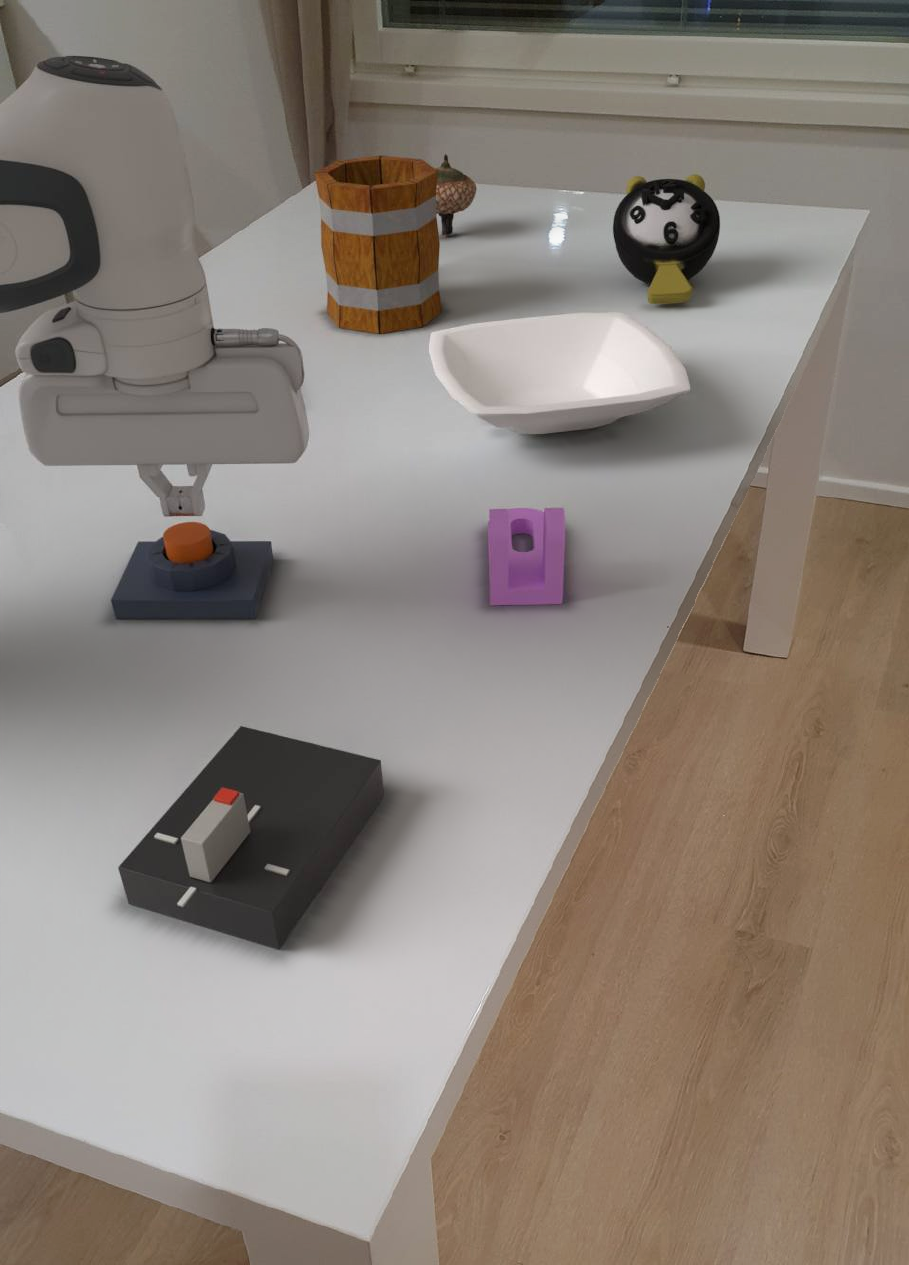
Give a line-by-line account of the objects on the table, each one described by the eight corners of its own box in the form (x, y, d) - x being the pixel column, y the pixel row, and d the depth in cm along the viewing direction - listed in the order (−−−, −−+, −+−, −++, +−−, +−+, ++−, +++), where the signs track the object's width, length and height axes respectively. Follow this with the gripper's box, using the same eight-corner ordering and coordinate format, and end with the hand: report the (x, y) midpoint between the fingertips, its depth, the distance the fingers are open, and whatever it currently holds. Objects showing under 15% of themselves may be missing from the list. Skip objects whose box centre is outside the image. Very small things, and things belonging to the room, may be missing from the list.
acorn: (421, 249, 159) (418, 165, 153) (410, 230, 165) (406, 148, 159) (483, 243, 160) (482, 159, 154) (469, 224, 166) (468, 143, 160)
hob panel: (267, 967, 67) (260, 928, 65) (115, 920, 70) (103, 881, 68) (384, 796, 78) (381, 757, 75) (247, 761, 80) (240, 723, 78)
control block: (115, 619, 94) (105, 579, 92) (142, 559, 101) (133, 521, 98) (256, 619, 93) (250, 579, 91) (273, 559, 100) (268, 520, 98)
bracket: (562, 604, 94) (565, 522, 89) (490, 605, 94) (489, 524, 89) (553, 522, 104) (555, 444, 99) (487, 523, 104) (487, 446, 99)
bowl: (415, 384, 126) (413, 328, 122) (630, 360, 129) (634, 305, 126) (461, 480, 110) (459, 420, 106) (705, 451, 113) (712, 391, 109)
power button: (162, 564, 94) (158, 544, 93) (172, 541, 96) (168, 521, 95) (208, 564, 94) (205, 544, 92) (217, 541, 96) (213, 521, 95)
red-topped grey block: (211, 883, 68) (201, 841, 66) (189, 877, 68) (179, 834, 66) (250, 832, 71) (243, 789, 69) (230, 826, 71) (221, 784, 69)
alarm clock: (601, 327, 147) (570, 194, 142) (682, 301, 154) (655, 173, 149) (672, 306, 138) (642, 163, 132) (754, 279, 145) (729, 143, 140)
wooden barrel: (439, 333, 137) (434, 188, 127) (320, 334, 137) (305, 190, 127) (447, 274, 151) (443, 140, 141) (339, 276, 152) (328, 143, 142)
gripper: (305, 311, 85) (325, 492, 95) (19, 316, 86) (66, 494, 96) (292, 345, 81) (315, 532, 90) (-10, 350, 82) (43, 534, 91)
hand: (184, 513), depth 93 cm, fingers closed
